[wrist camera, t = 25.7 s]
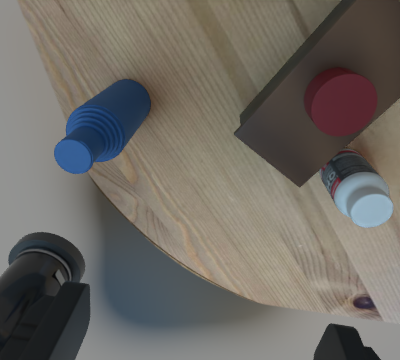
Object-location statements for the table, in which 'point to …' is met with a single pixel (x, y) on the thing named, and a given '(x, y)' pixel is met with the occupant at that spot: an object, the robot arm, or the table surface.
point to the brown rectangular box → (307, 70)
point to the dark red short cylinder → (340, 101)
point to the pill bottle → (357, 189)
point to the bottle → (102, 126)
